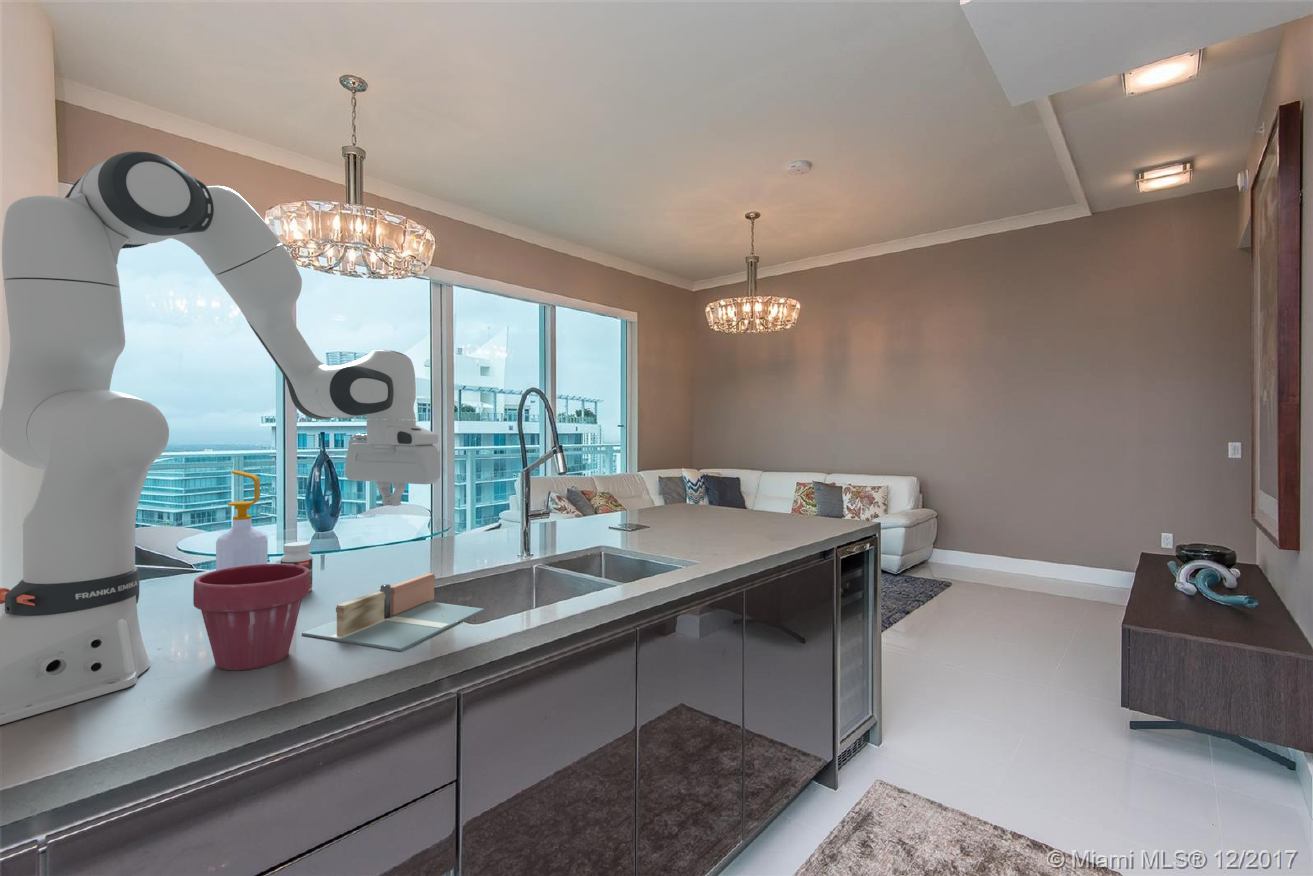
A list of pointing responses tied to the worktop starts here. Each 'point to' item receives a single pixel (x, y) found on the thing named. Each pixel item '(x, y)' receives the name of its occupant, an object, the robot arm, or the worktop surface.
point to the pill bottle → (298, 556)
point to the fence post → (386, 600)
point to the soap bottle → (242, 536)
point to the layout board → (401, 626)
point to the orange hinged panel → (411, 593)
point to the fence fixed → (360, 613)
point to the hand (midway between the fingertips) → (391, 505)
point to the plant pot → (251, 612)
